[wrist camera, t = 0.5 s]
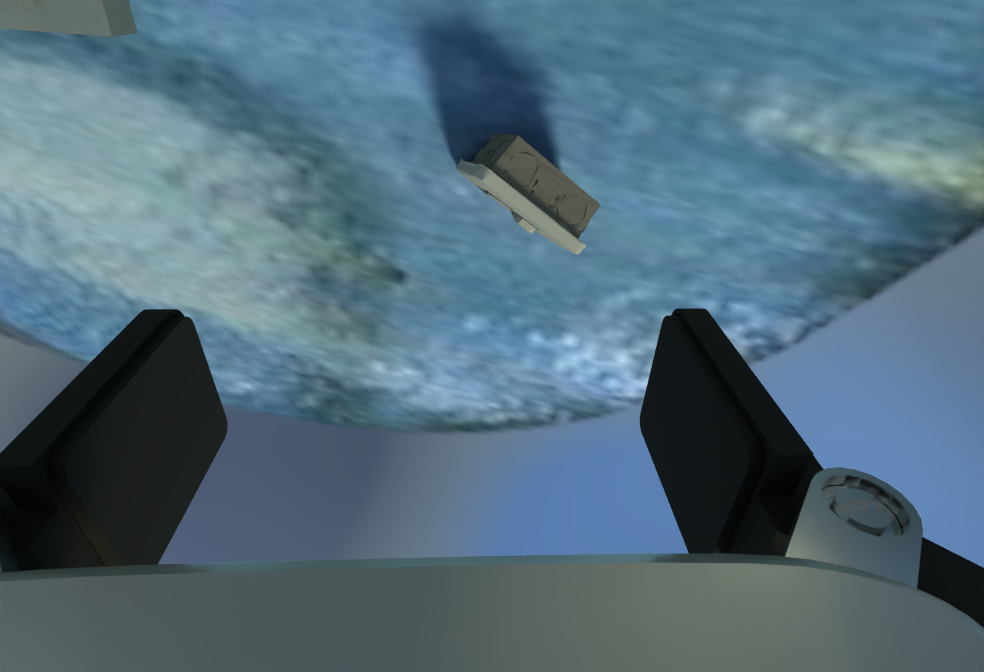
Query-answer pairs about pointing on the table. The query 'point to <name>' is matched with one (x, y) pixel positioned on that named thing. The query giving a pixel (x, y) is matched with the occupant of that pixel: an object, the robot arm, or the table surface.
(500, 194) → the electrical switch
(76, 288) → the table surface
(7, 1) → the grooved grey block
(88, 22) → the panel
